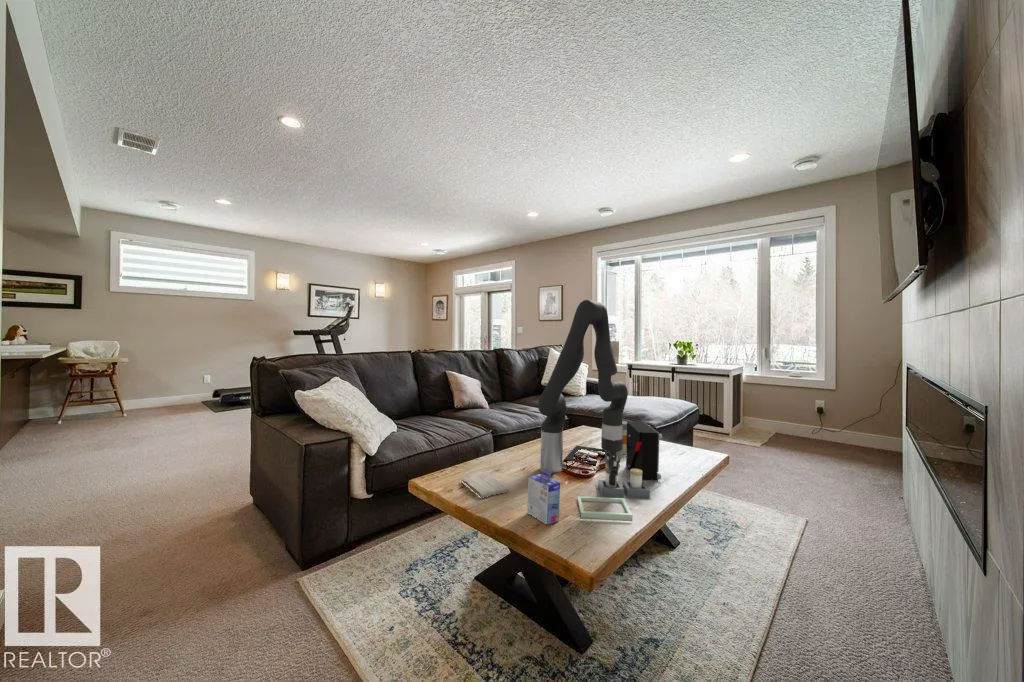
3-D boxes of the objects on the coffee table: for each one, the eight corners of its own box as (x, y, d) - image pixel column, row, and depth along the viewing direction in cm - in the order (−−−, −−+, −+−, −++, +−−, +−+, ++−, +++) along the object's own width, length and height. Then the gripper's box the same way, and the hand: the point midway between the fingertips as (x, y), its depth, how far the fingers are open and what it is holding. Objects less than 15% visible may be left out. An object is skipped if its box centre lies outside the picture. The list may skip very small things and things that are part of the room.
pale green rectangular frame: (581, 518, 122) (581, 512, 122) (577, 501, 134) (577, 496, 134) (632, 521, 121) (632, 514, 121) (623, 504, 133) (624, 498, 132)
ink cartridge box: (560, 520, 120) (561, 475, 120) (547, 526, 117) (548, 479, 116) (539, 508, 128) (540, 465, 128) (526, 513, 125) (527, 469, 124)
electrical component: (662, 483, 152) (663, 433, 151) (636, 482, 152) (637, 432, 151) (647, 467, 169) (648, 422, 169) (624, 466, 169) (625, 421, 169)
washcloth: (485, 477, 156) (486, 470, 156) (509, 493, 141) (509, 485, 141) (459, 483, 149) (459, 475, 149) (481, 501, 134) (481, 492, 134)
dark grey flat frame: (563, 466, 170) (563, 459, 170) (575, 451, 191) (576, 445, 191) (595, 471, 164) (595, 464, 164) (604, 455, 186) (604, 449, 185)
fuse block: (599, 499, 136) (599, 474, 135) (594, 487, 147) (595, 463, 146) (651, 502, 134) (651, 476, 134) (642, 489, 145) (643, 465, 145)
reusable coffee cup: (602, 451, 191) (602, 421, 190) (613, 445, 200) (613, 417, 200) (626, 456, 183) (626, 425, 182) (636, 450, 192) (637, 421, 192)
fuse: (606, 493, 139) (606, 465, 138) (604, 488, 143) (604, 462, 143) (617, 493, 138) (618, 466, 138) (615, 489, 143) (616, 462, 142)
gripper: (598, 430, 147) (597, 475, 148) (605, 441, 133) (603, 490, 134) (618, 431, 147) (617, 475, 147) (627, 442, 133) (625, 491, 133)
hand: (611, 482), depth 141 cm, fingers closed on fuse, 4 cm apart
